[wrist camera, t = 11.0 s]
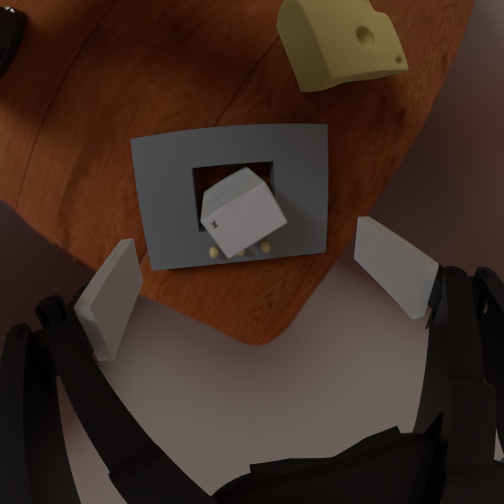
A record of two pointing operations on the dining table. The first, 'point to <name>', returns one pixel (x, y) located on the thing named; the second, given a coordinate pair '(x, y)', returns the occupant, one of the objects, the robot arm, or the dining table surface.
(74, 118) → the dining table surface
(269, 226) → the skincare box
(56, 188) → the dining table surface
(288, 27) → the cheese
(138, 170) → the grey frame plate
